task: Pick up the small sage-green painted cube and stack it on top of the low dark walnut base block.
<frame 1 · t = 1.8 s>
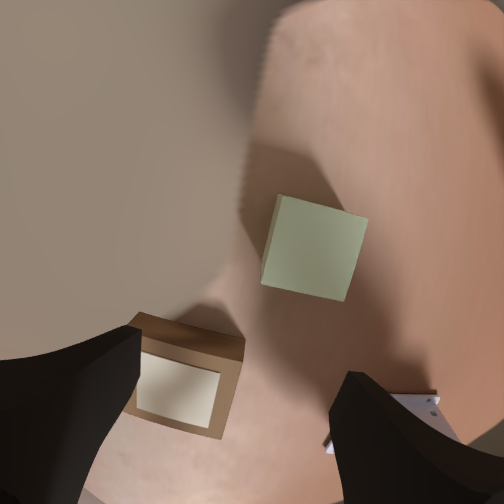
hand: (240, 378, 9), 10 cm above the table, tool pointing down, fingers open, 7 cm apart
cube: (303, 236, 19), on the table
base block: (184, 369, 21), on the table
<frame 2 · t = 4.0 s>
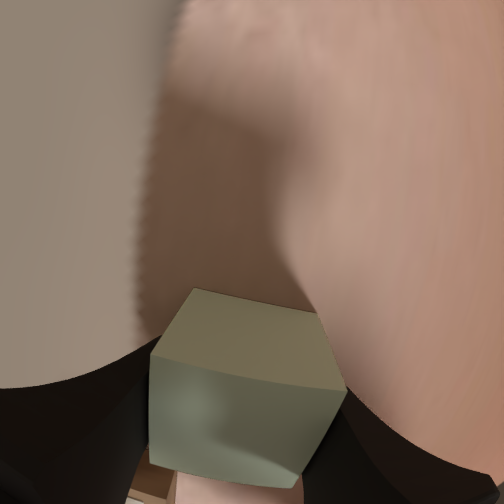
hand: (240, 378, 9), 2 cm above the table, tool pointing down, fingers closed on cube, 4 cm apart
cube: (243, 354, 11), on the table, touching gripper
base block: (117, 469, 13), on the table
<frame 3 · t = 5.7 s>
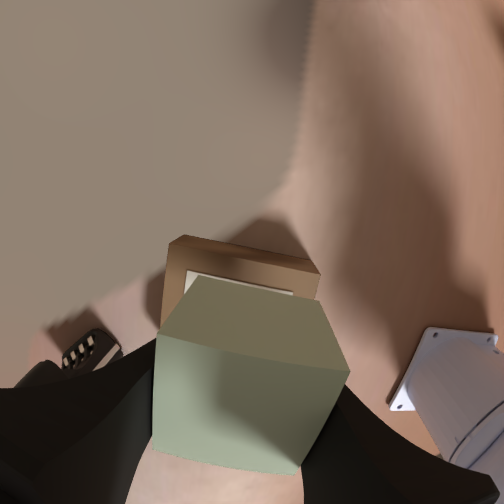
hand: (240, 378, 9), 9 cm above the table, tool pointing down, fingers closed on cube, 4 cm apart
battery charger: (90, 349, 20), on the table
cube: (246, 341, 11), point 7 cm above the table, touching gripper
base block: (235, 307, 19), on the table
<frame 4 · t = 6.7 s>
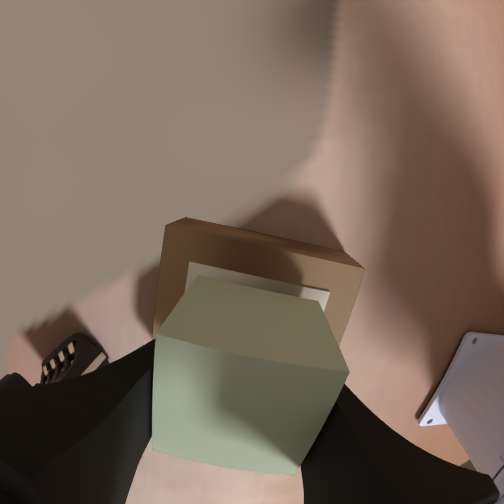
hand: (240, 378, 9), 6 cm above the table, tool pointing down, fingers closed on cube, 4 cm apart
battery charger: (73, 357, 17), on the table
cube: (245, 341, 11), point 4 cm above the table, touching gripper
base block: (249, 310, 15), on the table
when the fingers open (5 cm above the table, at t = 7.7 s): cube stays where it is, resting on base block.
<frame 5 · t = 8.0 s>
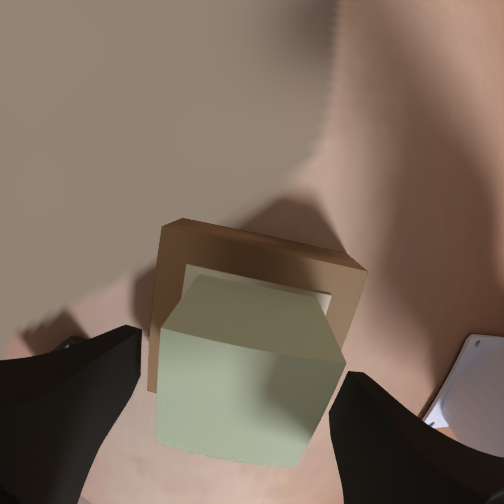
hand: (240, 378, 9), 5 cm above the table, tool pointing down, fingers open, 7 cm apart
cube: (246, 338, 11), point 3 cm above the table, touching base block
base block: (248, 313, 14), on the table
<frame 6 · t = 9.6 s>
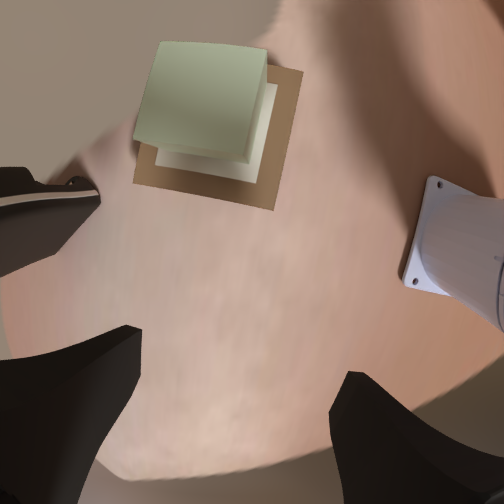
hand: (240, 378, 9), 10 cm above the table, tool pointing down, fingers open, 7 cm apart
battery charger: (68, 210, 19), on the table
cube: (216, 116, 14), point 3 cm above the table, touching base block
base block: (222, 132, 17), on the table
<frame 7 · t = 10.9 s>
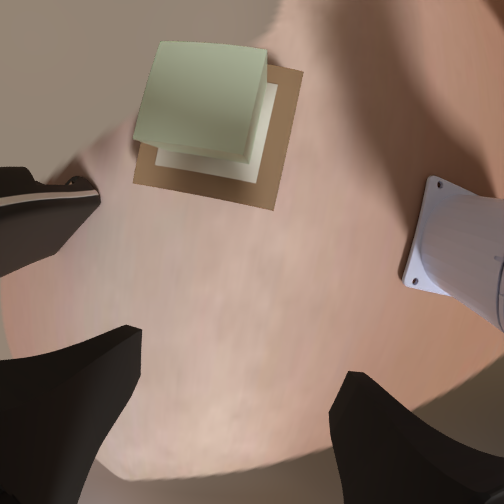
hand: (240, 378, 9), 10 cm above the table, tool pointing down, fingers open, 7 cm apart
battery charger: (68, 210, 19), on the table
cube: (216, 116, 14), point 3 cm above the table, touching base block
base block: (222, 132, 17), on the table
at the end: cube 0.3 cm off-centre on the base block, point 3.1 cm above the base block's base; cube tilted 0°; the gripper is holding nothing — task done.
